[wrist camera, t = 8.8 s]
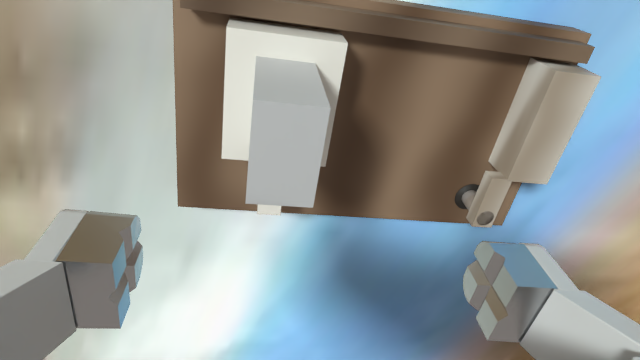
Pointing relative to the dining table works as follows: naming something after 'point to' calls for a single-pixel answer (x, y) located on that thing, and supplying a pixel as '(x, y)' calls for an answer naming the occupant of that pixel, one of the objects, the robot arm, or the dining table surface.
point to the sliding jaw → (280, 107)
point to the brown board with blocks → (397, 107)
